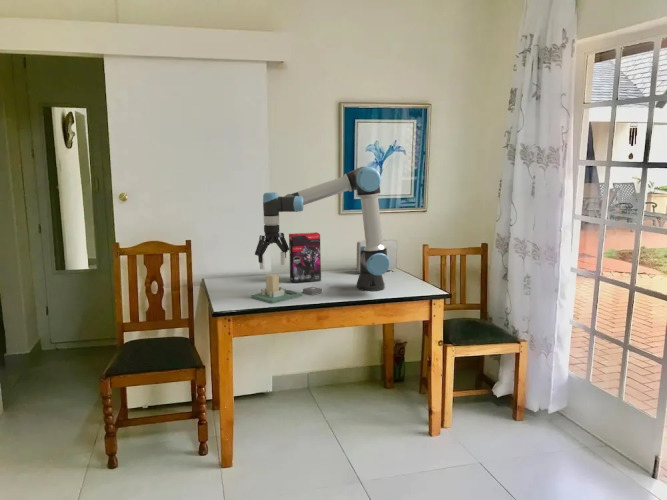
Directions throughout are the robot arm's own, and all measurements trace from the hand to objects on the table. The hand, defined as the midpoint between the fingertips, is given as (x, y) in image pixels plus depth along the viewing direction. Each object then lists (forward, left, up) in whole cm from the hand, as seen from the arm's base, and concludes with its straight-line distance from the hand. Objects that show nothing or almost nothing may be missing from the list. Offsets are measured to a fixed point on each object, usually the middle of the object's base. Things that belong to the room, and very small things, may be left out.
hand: (272, 267), depth 264 cm
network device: (-1, -82, -16) cm, 83 cm away
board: (-1, -2, -15) cm, 15 cm away
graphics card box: (+14, -36, -16) cm, 41 cm away
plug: (0, 0, -14) cm, 14 cm away
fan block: (-8, -20, -15) cm, 26 cm away
